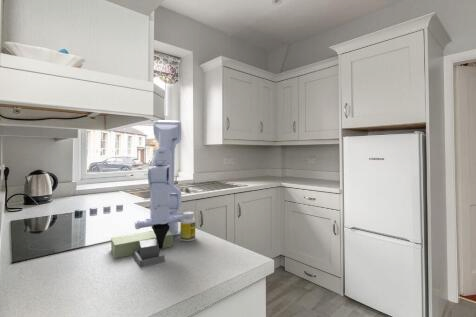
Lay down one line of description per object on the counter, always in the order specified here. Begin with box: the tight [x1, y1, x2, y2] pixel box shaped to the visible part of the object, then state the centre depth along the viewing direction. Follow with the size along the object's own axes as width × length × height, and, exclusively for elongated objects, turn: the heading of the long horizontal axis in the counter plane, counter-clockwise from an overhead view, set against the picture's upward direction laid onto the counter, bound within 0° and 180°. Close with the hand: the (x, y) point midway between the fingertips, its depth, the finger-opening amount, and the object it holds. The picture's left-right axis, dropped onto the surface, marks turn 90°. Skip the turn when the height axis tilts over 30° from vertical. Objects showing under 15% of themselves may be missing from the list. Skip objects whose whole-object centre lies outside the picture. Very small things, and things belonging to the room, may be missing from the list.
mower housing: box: [110, 230, 174, 268], centre depth 80 cm, size 18×18×4 cm
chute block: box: [139, 239, 160, 260], centre depth 77 cm, size 6×5×4 cm
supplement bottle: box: [179, 211, 196, 242], centre depth 93 cm, size 5×5×10 cm
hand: (160, 247), depth 78 cm, fingers closed
